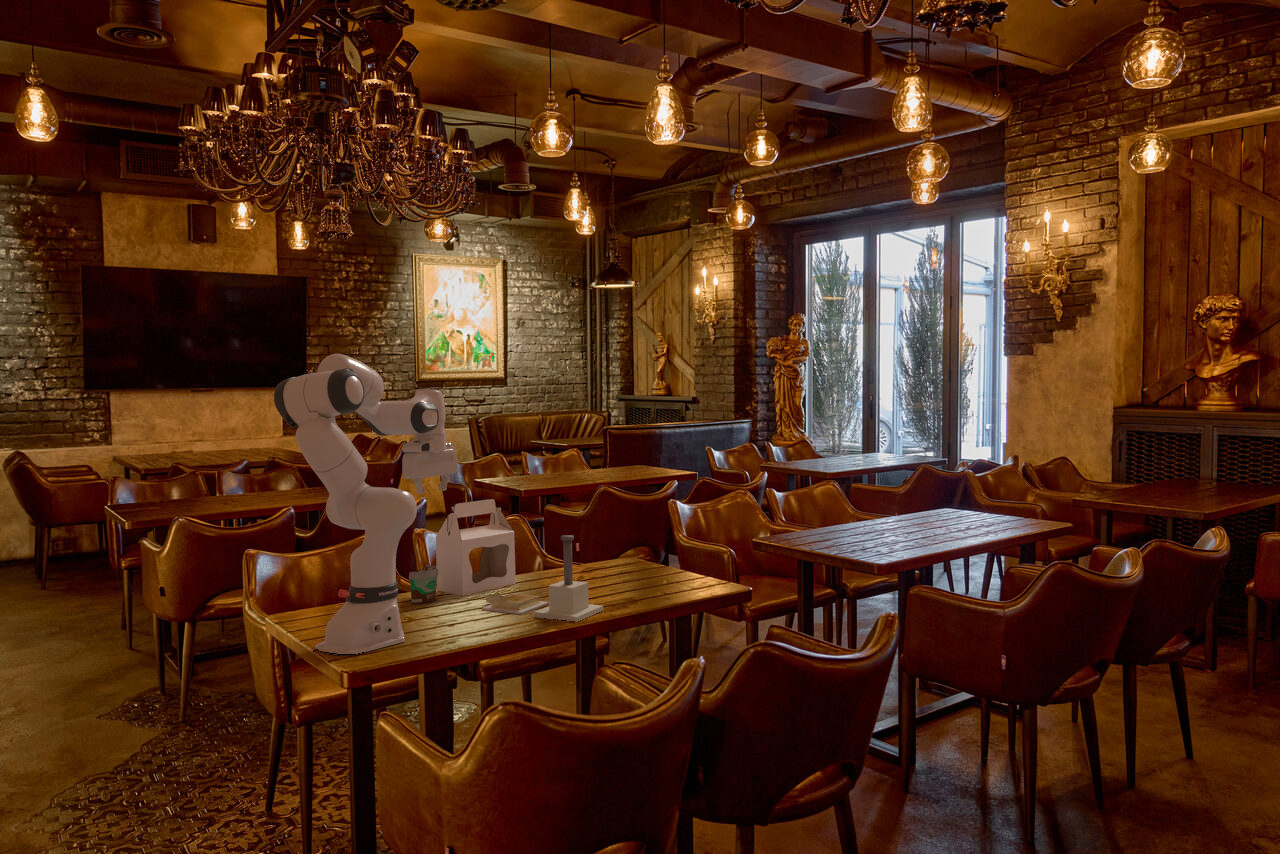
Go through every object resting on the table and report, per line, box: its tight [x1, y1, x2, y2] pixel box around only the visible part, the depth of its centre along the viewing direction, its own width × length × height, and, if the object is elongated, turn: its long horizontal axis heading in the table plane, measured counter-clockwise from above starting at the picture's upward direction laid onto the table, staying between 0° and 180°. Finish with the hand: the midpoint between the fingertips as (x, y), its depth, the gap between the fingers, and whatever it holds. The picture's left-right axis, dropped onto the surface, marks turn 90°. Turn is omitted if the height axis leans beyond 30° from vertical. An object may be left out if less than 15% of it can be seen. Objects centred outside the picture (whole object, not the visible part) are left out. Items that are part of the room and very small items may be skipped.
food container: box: [408, 564, 439, 606], centre depth 273 cm, size 12×6×10 cm, turn 168°
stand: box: [533, 534, 604, 623], centre depth 253 cm, size 14×14×22 cm
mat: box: [481, 600, 549, 615], centre depth 264 cm, size 14×14×1 cm
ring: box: [485, 592, 541, 610], centre depth 265 cm, size 10×15×2 cm, turn 62°
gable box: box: [435, 498, 517, 597], centre depth 291 cm, size 22×13×28 cm, turn 139°
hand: (432, 491), depth 263 cm, fingers open, 8 cm apart
